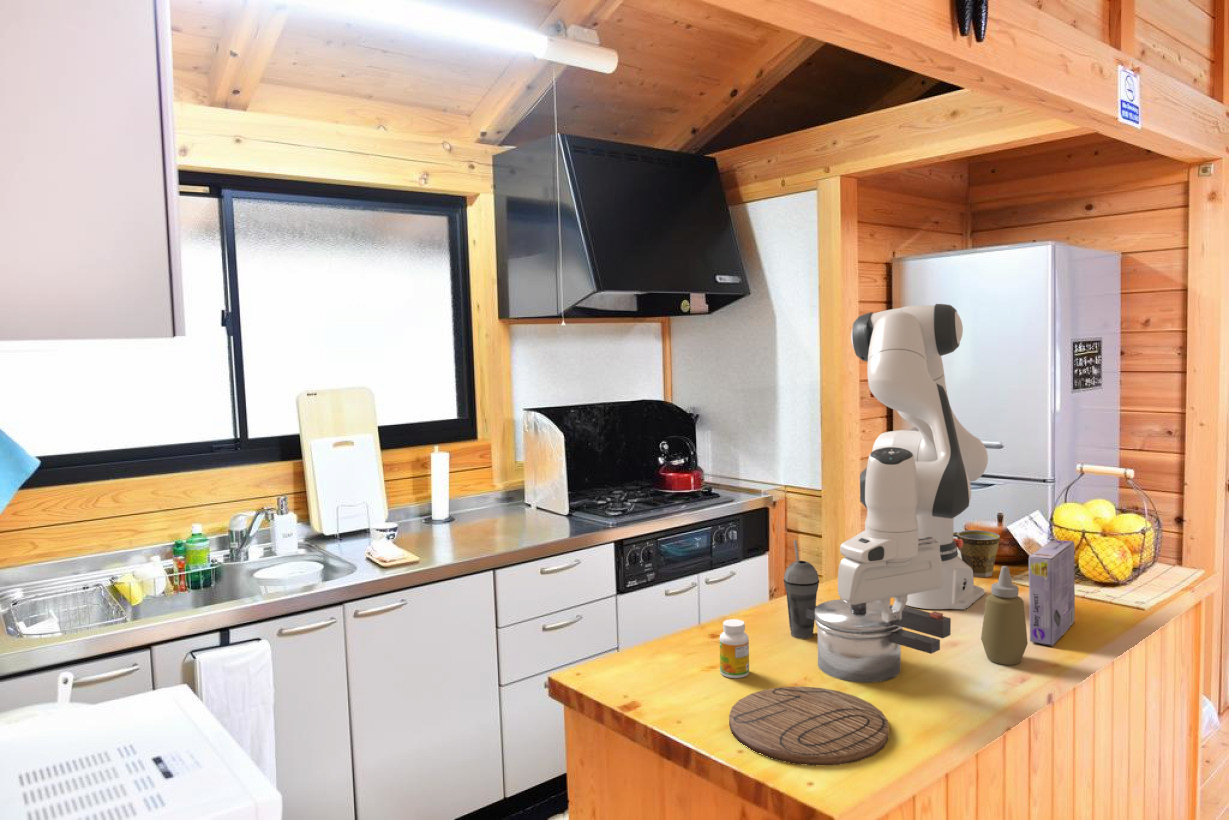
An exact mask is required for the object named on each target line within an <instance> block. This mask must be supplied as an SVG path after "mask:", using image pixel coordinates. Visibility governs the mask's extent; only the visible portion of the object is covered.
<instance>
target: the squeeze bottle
mask: <svg viewBox="0 0 1229 820" xmlns="http://www.w3.org/2000/svg"><path fill="white" fill-rule="evenodd" d="M990 587H991V590H990V591H991V594H990V593H989V595H987V596H986V597H985V604H984V612H983V621H982V627H981V628H982V629H981V635H980V640H981V643H982V646H983V649H984V653H985V655H986V658H987V659H988V660H989V661H991V662H992V663H996V664H999V665H1006V666H1007V665H1009V666H1010V665H1018V664H1020V663H1021V662H1022V659H1023V656H1024V654H1025V651H1026V650H1027V646H1028V633H1027V622H1026V620H1027V619H1026V613H1025V612H1026V611H1025V601H1024V600H1023V598H1021V596H1019V586H1018V585H1017V584H1014V583H1013V581H1012V576H1011V573H1010V567H1009V566H1008V565H1002V566H1001V569H1000V573H999V577H998V580H997V582H994V583H992V584H991V586H990Z"/></svg>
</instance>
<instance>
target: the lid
mask: <svg viewBox="0 0 1229 820" xmlns="http://www.w3.org/2000/svg"><path fill="white" fill-rule="evenodd" d="M816 606H817V607H816V608H815V619H816V620H817V621H818V622H819V623H820V624H822V625H824V626H826V627H829V628H832V629H836V630H840V631H846V632H853V633H880V632H887V631H891V630H894V629H897V628H899V627H900V626H901V627H903V629H904V628H905V629H909V630H911V631H912V630H913V631H916V632H918V633H922V634H926V635H930V636H933V637H937V638H938V639H939V638H940V639H945V638H947V637H950V636H951V634H952V633H951V632H952V631H951V629H952V628H951V624H952V621H951V617H948V616H945V615H944V613H942V612H938V611H935V610H934V611H933V612H928V611H926V610H921V609H916V608H915V607H911V606H907V605H905V606H904V608H903V610H902V619H901V620H898V621H892V622H888V623H887V622H885V621H883V620H882V611H881V609H880V608H879V606H878V604H877V602H876V601H872V602H867V603H861V604H856V605H852V604H849V603H847V602H845V601H843V600H842V599H841V598H839V599H832V600H828V601H824V602H821V603H819V604H818V605H816ZM888 606H889V608H890V609H891V608H892V607H893V604H891V603H890V604H888Z"/></svg>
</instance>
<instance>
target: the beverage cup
mask: <svg viewBox="0 0 1229 820" xmlns="http://www.w3.org/2000/svg"><path fill="white" fill-rule="evenodd" d="M793 545H794V551H795V559H796V561H793V562H791V563H790V564H789V565H788V567H787V568H786V569H785V572H784V575H783V577H784V578H783V583H784V588H785V592H786V603H787V613H788V620H789V621H788V623H789V628H790V629H789V630H790V636H792V637H793V638H796V639H809V638H810V639H811V638H812V637H813V635H814V628H815V620H813V619H809V618H806V609H807V608H810V607H813V606H817V605H816V604H817V594H818V593H817V592H818V590H819V589H818V588H819V586H820V585H819V583H820V578H819V574H818V571H817V569H816V567H814V565H813V564H811V563H810V562H809V561H806V560H800V558H799V549H798V543H797V540H796V539H794V540H793Z"/></svg>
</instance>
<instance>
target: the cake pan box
mask: <svg viewBox="0 0 1229 820" xmlns="http://www.w3.org/2000/svg"><path fill="white" fill-rule="evenodd" d="M1028 589H1029V590H1028V591H1029V592H1028V596H1029V599H1028V602H1029V604H1028V605H1029V642H1032V643H1037V644H1041V645H1045V646H1049V647H1054V646H1055V644H1056V643H1057V641H1059V639H1061V638H1062V637H1061V636H1063V634H1064V633H1065V632H1066V631H1067V632H1068V630H1069V629H1070V628H1071V627H1072V626H1073V622H1074V623H1075V617H1076V616H1075V610H1076V609H1075V606H1076V605H1075V602H1076V601H1075V599H1076V598H1075V596H1076V595H1075V592H1076V590H1075V542H1074V540H1058V539H1056V540H1055V539H1052V540H1051V541H1049V542H1048V543H1047V544H1045V545H1043V546H1042V547H1041V548H1038V550H1036V551H1035V552H1034V553H1031V554H1030V555H1029V556H1028ZM1071 625H1072V626H1071ZM1070 626H1071V627H1070ZM1067 632H1066V633H1067ZM1066 633H1065V634H1066ZM1065 634H1064V635H1065ZM1063 637H1064V636H1063Z"/></svg>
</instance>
